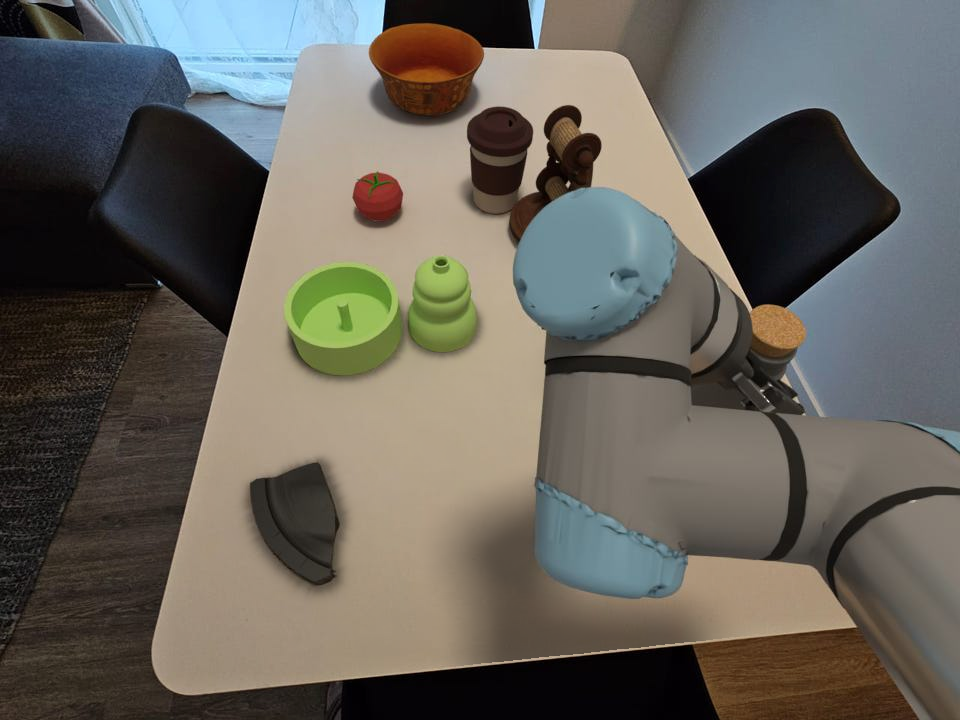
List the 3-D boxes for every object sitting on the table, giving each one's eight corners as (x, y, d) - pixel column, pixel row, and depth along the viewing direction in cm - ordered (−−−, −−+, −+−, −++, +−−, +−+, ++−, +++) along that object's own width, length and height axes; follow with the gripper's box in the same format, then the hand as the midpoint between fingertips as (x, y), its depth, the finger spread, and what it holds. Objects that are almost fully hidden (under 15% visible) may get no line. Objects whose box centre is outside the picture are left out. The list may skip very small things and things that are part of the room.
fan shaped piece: (275, 604, 58) (270, 600, 57) (250, 488, 65) (246, 482, 64) (354, 571, 60) (351, 567, 59) (322, 462, 67) (319, 456, 66)
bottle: (672, 398, 61) (728, 307, 48) (719, 384, 62) (785, 292, 50) (701, 445, 57) (768, 361, 45) (750, 430, 59) (829, 344, 46)
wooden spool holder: (615, 255, 89) (650, 142, 73) (527, 274, 86) (543, 161, 70) (577, 196, 97) (602, 82, 81) (496, 211, 94) (504, 96, 78)
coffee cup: (453, 204, 95) (453, 121, 82) (487, 174, 100) (492, 92, 87) (503, 228, 92) (510, 147, 80) (535, 196, 97) (547, 115, 84)
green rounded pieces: (291, 379, 74) (265, 318, 64) (298, 295, 82) (276, 229, 72) (482, 365, 76) (486, 303, 66) (470, 284, 85) (472, 219, 74)
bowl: (492, 81, 117) (495, 30, 109) (467, 140, 105) (468, 88, 97) (395, 65, 119) (390, 14, 111) (360, 122, 107) (352, 69, 99)
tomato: (348, 223, 91) (340, 184, 85) (366, 193, 96) (360, 154, 89) (395, 234, 90) (390, 195, 84) (411, 203, 95) (408, 164, 88)
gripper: (569, 268, 45) (672, 330, 62) (724, 473, 35) (794, 476, 53) (643, 197, 42) (729, 283, 60) (834, 398, 32) (869, 429, 50)
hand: (760, 374), depth 56 cm, fingers closed on bottle, 6 cm apart
